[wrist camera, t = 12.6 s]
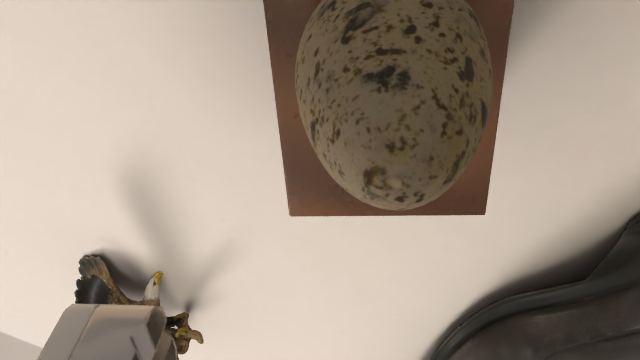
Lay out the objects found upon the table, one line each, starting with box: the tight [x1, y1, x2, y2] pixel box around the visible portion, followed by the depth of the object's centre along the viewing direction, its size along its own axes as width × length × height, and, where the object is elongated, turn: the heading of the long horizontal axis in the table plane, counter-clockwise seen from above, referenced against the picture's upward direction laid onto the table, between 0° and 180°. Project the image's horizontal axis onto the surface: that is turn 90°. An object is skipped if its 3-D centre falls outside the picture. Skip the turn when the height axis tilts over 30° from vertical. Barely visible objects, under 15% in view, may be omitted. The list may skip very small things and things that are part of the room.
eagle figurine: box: [75, 255, 203, 360], centre depth 39 cm, size 8×7×9 cm
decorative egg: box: [295, 0, 492, 210], centre depth 17 cm, size 6×6×10 cm
